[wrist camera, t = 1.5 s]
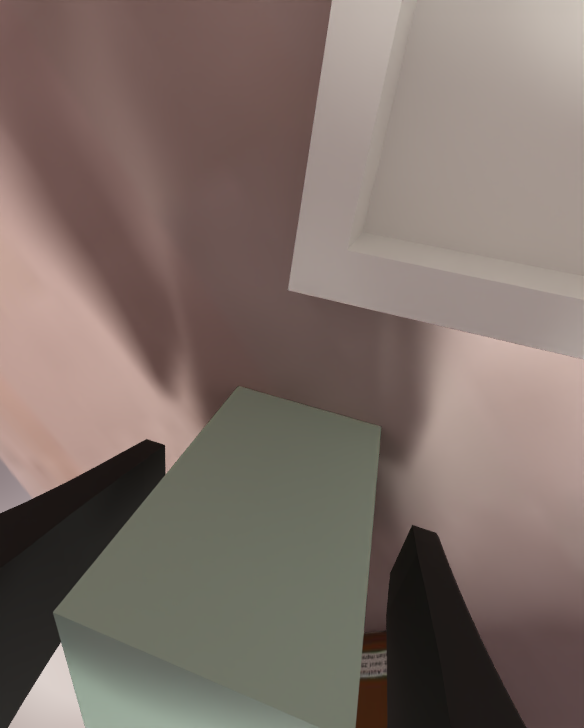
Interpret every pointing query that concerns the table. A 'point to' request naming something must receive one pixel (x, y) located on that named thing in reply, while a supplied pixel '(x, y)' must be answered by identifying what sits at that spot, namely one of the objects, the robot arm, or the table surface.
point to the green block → (235, 580)
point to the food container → (373, 682)
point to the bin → (451, 167)
